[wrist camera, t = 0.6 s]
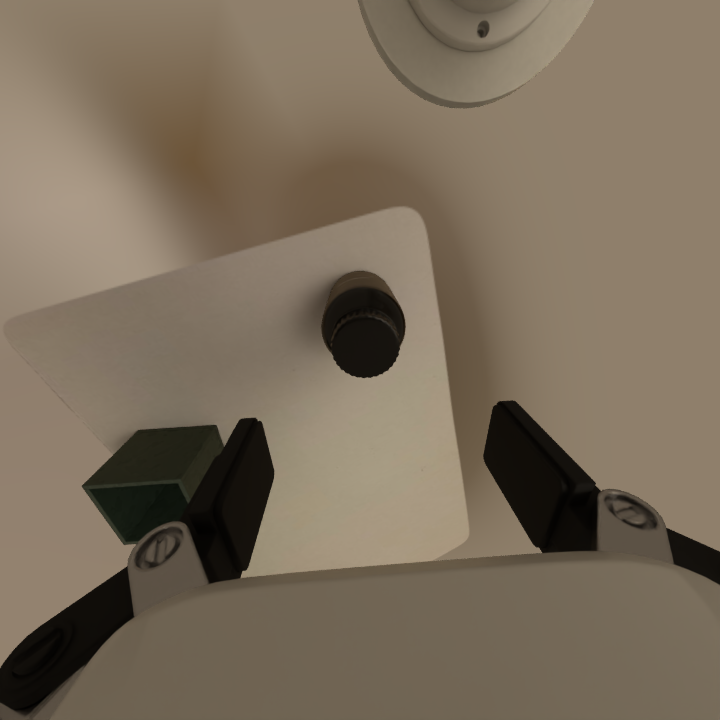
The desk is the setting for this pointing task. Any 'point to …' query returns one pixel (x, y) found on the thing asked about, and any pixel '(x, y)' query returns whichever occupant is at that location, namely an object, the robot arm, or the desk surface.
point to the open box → (152, 478)
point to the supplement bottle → (363, 324)
